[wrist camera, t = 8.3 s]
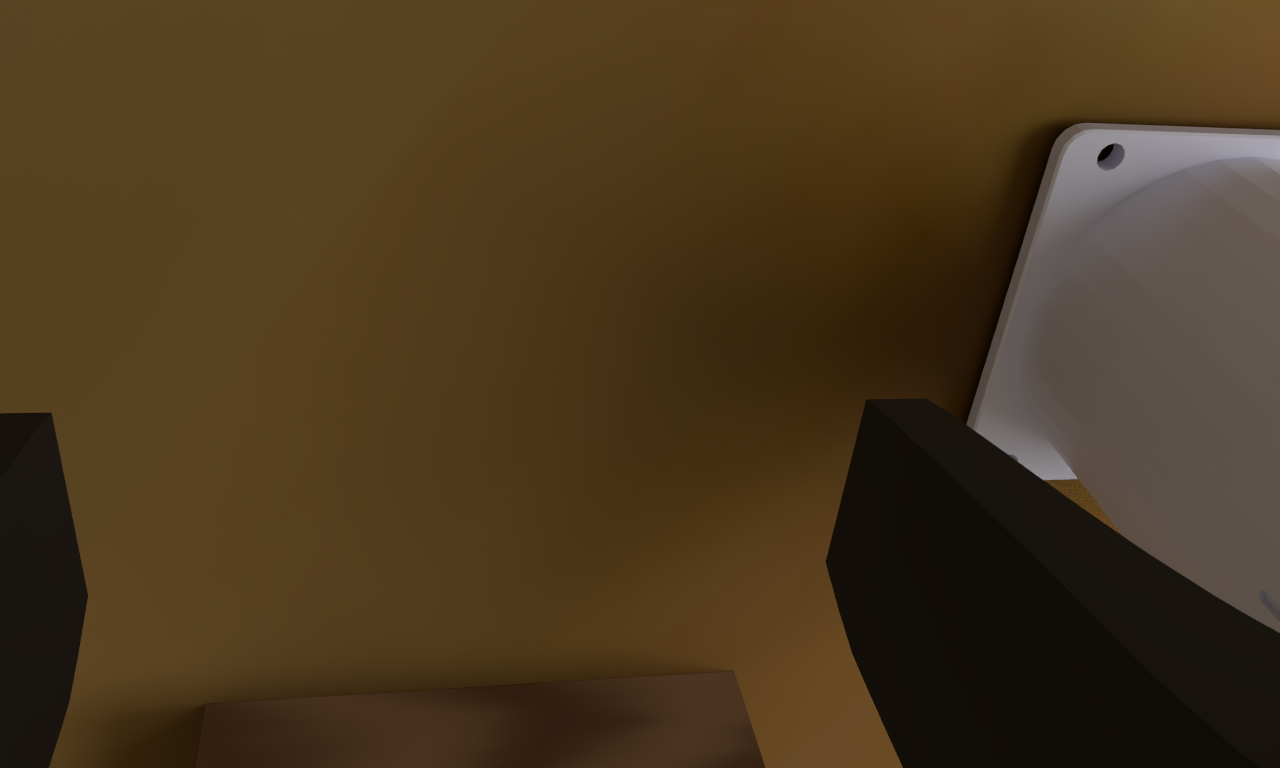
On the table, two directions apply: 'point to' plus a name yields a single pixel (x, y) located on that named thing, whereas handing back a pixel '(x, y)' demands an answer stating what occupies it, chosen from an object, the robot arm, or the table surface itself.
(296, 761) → the walnut block
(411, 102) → the table surface
